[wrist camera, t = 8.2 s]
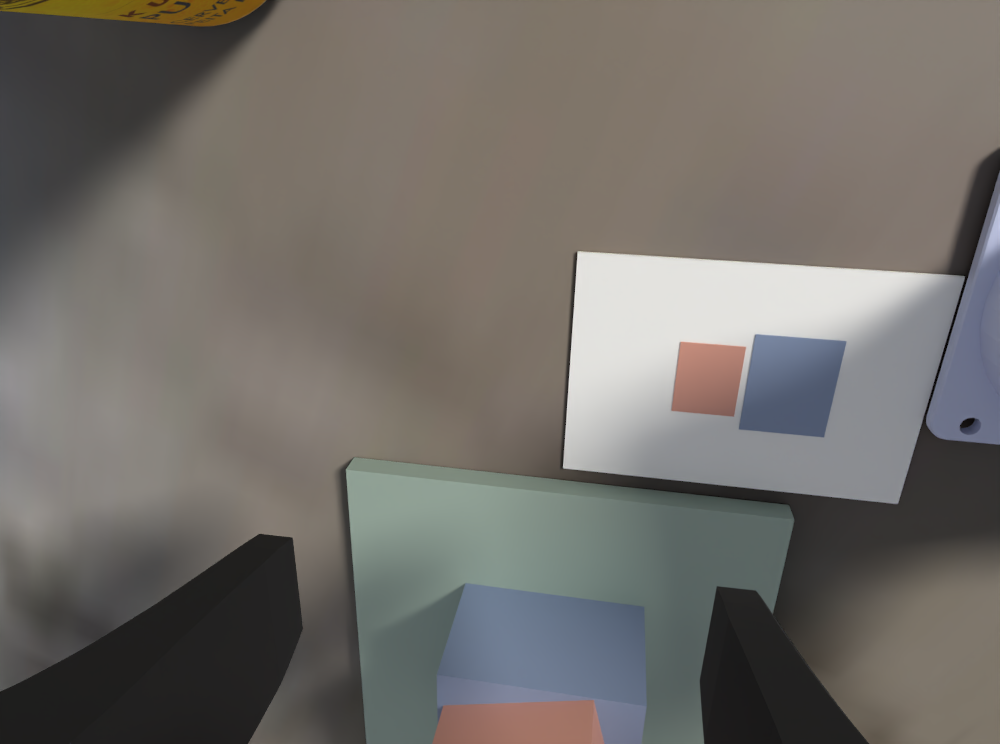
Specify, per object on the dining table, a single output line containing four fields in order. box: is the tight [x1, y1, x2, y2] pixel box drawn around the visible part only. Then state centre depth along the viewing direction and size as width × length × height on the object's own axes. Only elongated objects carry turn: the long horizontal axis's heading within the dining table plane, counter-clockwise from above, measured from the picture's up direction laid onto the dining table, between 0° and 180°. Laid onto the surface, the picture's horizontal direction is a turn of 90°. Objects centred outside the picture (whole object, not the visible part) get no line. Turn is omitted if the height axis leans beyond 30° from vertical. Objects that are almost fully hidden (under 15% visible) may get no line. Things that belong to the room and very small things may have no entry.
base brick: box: [437, 583, 647, 744], centre depth 23 cm, size 6×6×4 cm
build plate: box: [346, 457, 794, 744], centre depth 25 cm, size 14×14×1 cm
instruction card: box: [563, 251, 965, 504], centre depth 21 cm, size 10×7×1 cm
